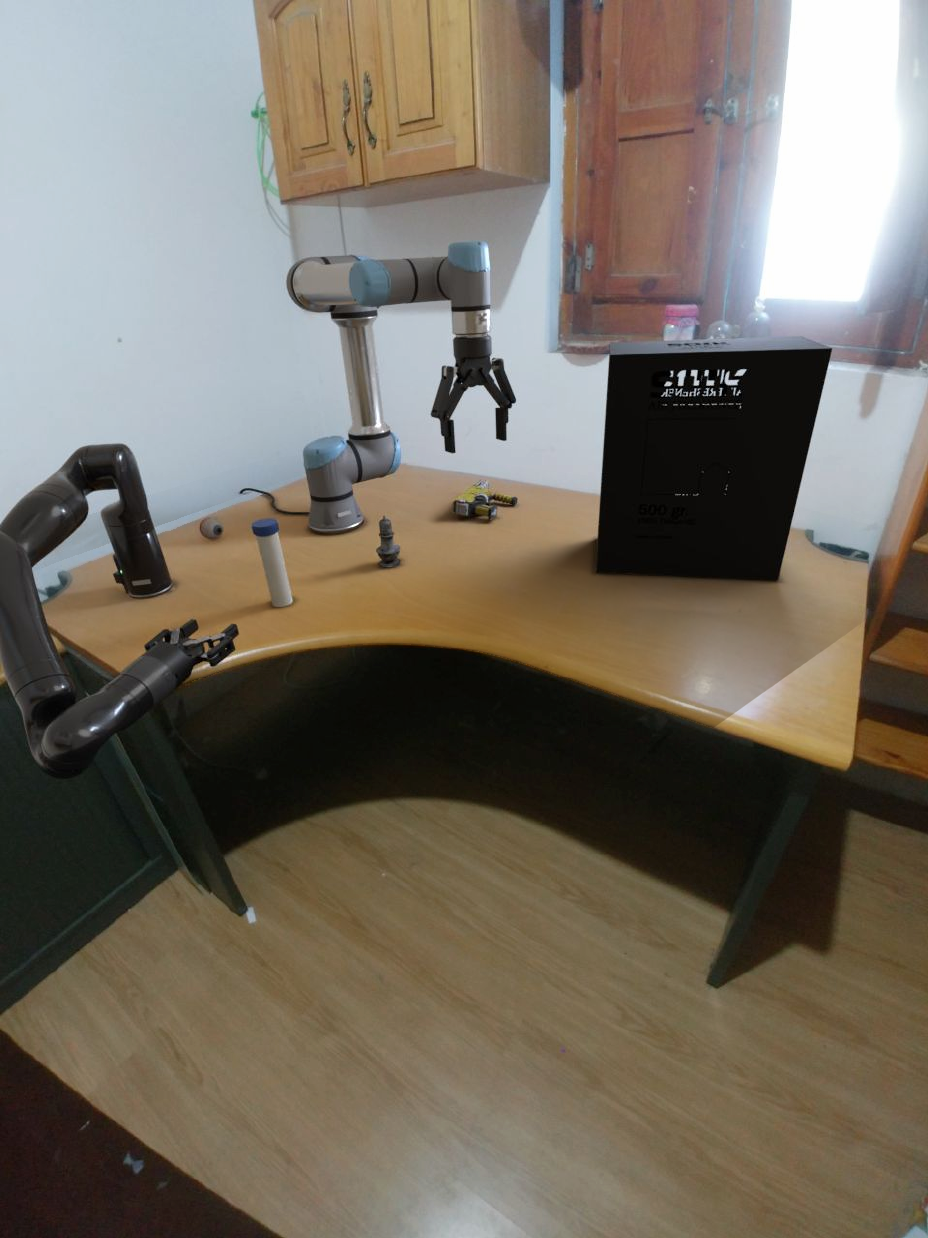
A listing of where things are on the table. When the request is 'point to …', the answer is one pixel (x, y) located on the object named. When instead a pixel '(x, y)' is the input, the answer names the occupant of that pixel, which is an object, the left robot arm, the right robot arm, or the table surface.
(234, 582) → the table surface
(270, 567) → the jar
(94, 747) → the left robot arm
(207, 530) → the eyeball
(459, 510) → the toy gun
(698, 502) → the cardboard box
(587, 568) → the table surface
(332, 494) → the right robot arm
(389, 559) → the grey upright turned piece
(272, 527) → the lid
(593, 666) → the table surface
